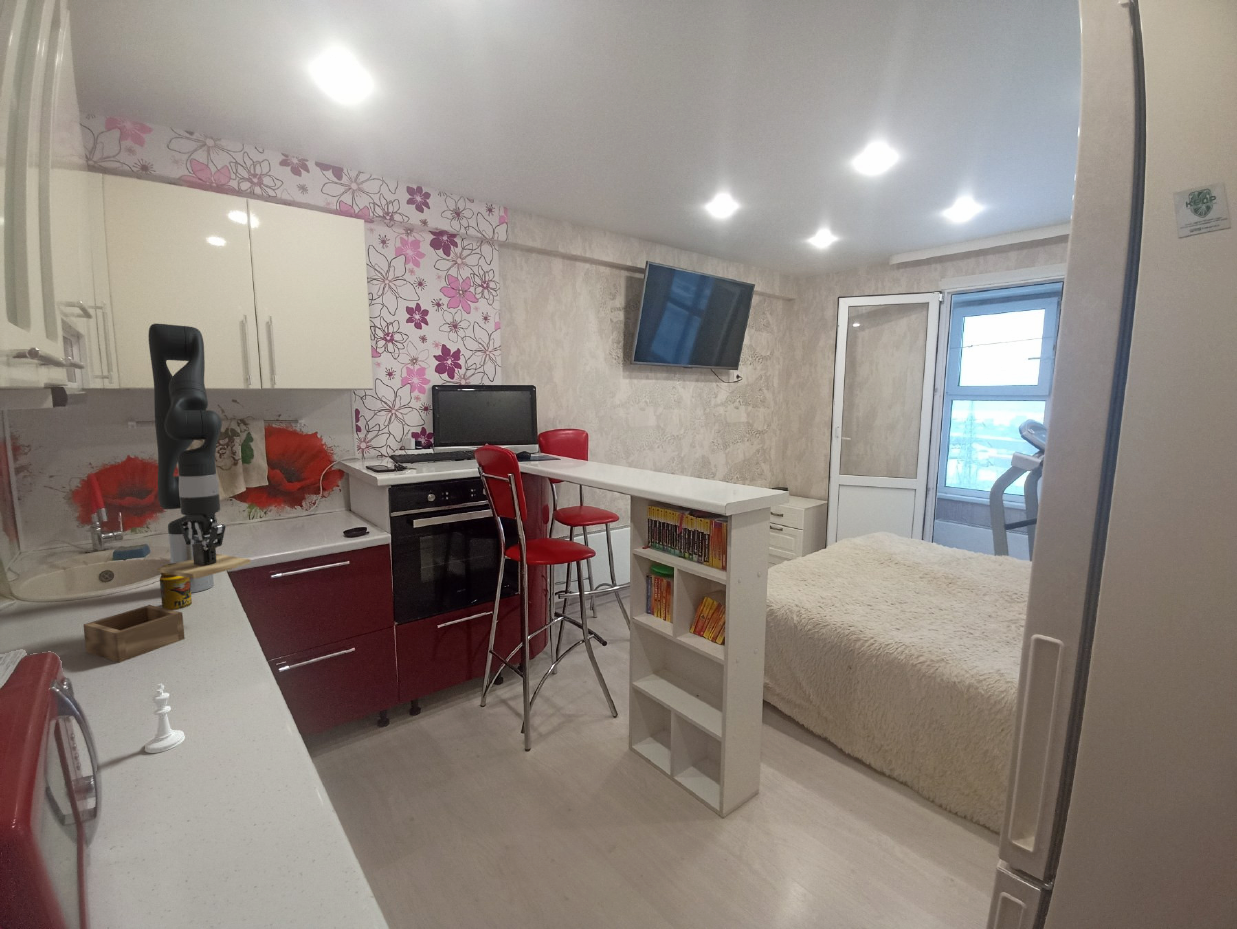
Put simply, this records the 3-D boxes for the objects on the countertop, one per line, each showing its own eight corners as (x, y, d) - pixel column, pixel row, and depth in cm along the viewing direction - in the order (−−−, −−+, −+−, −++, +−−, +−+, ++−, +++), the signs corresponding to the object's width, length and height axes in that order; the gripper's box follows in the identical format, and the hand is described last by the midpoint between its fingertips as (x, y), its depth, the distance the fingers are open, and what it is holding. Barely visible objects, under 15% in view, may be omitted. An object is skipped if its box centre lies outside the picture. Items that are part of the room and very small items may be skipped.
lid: (158, 575, 126) (155, 547, 125) (216, 560, 138) (214, 534, 137) (193, 582, 121) (191, 553, 121) (250, 566, 134) (248, 539, 133)
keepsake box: (86, 655, 114) (83, 624, 113) (152, 633, 125) (149, 604, 124) (120, 666, 110) (116, 633, 109) (184, 642, 121) (182, 612, 120)
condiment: (192, 610, 139) (188, 566, 138) (149, 617, 134) (145, 571, 133) (195, 601, 145) (191, 559, 144) (154, 608, 140) (150, 564, 139)
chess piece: (139, 756, 82) (133, 695, 81) (152, 738, 87) (146, 680, 86) (178, 748, 84) (173, 688, 83) (189, 731, 89) (184, 674, 88)
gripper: (235, 493, 129) (240, 562, 131) (197, 489, 134) (203, 556, 136) (201, 498, 122) (207, 571, 124) (163, 493, 127) (169, 564, 129)
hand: (205, 562), depth 130 cm, fingers closed on lid, 3 cm apart
